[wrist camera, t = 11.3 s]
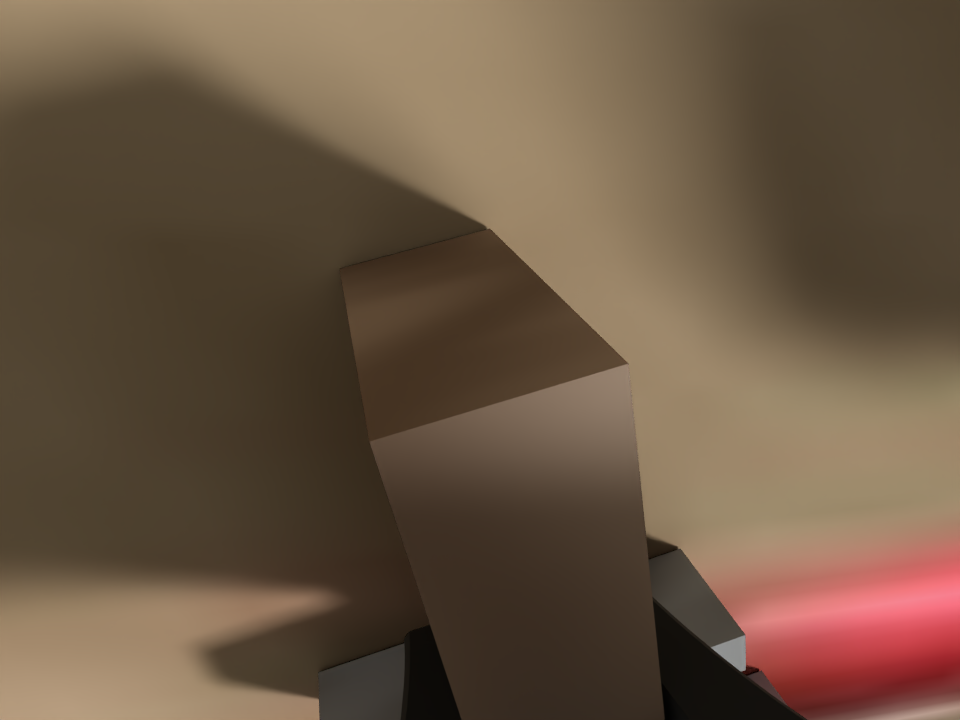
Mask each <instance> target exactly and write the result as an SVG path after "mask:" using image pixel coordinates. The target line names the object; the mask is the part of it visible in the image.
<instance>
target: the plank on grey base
mask: <svg viewBox="0 0 960 720" xmlns="http://www.w3.org/2000/svg"><path fill="white" fill-rule="evenodd" d="M340 275H341V281H342V286H343V292H344V298H345V304H346V310H347V315H348V321H349V327H350V333H351V339H352V344H353V350H354V356H355V362H356V368H357V373H358V379H359V385H360V391H361V397H362V402H363V408H364V414H365V420H366V426H367V431H368V437H369V442H370V445H371V448H372V451H373V454H374V457H375V460H376V463H377V466H378V469H379V473H380V476H381V479H382V482H383V485H384V488H385V491H386V494H387V497H388V500H389V503H390V506H391V509H392V512H393V515H394V518H395V521H396V524H397V527H398V530H399V533H400V536H401V539H402V542H403V545H404V548H405V551H406V554H407V557H408V560H409V563H410V566H411V569H412V572H413V575H414V578H415V581H416V584H417V587H418V590H419V593H420V596H421V599H422V602H423V605H424V608H425V611H426V614H427V617H428V620H429V623H430V626H431V629H432V632H433V635H434V638H435V641H436V644H437V647H438V650H439V653H440V656H441V659H442V662H443V665H444V668H445V671H446V674H447V677H448V680H449V683H450V686H451V689H452V692H453V695H454V698H455V701H456V704H457V707H458V710H459V713H460V716H461V719H462V720H665V717H664V707H663V697H662V687H661V678H660V668H659V658H658V648H657V638H656V629H655V619H654V609H653V599H652V597H654V598H655V599H656V600H657V601H658V602H659V603H660V604H661V605H662V606H663V607H664V608H665V609H667V610H668V611H669V612H670V613H671V614H672V615H673V616H674V617H675V618H677V619H678V620H679V621H680V622H681V623H682V624H683V625H685V626H686V627H687V628H688V629H689V630H690V631H692V632H693V633H694V634H695V635H696V636H698V637H699V638H700V639H701V640H702V641H704V642H705V643H706V644H707V645H708V646H710V647H711V648H712V649H713V650H714V651H716V652H717V653H718V654H719V655H721V656H722V657H723V658H724V659H725V660H727V661H728V662H729V663H731V664H732V665H733V666H734V667H736V668H737V669H738V670H739V671H741V672H742V671H744V670H746V647H745V634H744V632H743V631H742V630H741V628H740V627H739V626H738V624H737V623H736V622H735V620H734V619H733V618H732V616H731V615H730V614H729V612H728V611H727V610H726V609H725V607H724V606H723V605H722V603H721V602H720V601H719V599H718V598H717V597H716V595H715V594H714V593H713V591H712V590H711V589H710V587H709V586H708V585H707V583H706V582H705V581H704V579H703V578H702V577H701V575H700V574H699V573H698V571H697V570H696V569H695V567H694V566H693V565H692V563H691V562H690V561H689V559H688V558H687V557H686V555H685V554H684V553H683V551H682V550H681V549H678V550H675V551H672V552H669V553H667V554H664V555H661V556H658V557H655V558H652V559H649V560H648V550H647V540H646V531H645V521H644V511H643V501H642V491H641V482H640V472H639V462H638V452H637V442H636V433H635V423H634V413H633V403H632V393H631V384H630V374H629V364H628V363H627V362H626V361H625V360H624V359H623V358H622V357H621V356H620V355H619V354H618V353H617V352H616V351H615V350H614V349H613V348H612V347H611V346H610V345H609V344H608V343H607V342H606V341H605V340H604V339H603V338H602V337H601V336H600V335H599V334H597V333H596V332H595V331H594V330H593V329H592V328H591V327H590V326H589V325H588V324H587V323H586V322H585V321H584V320H583V319H582V318H581V317H580V316H579V315H578V314H577V313H576V312H575V311H574V310H573V309H572V308H571V307H570V306H569V305H568V304H567V303H566V302H565V301H564V300H563V299H562V298H561V297H560V296H558V295H557V294H556V293H555V292H554V291H553V290H552V289H551V288H550V287H549V286H548V285H547V284H546V283H545V282H544V281H543V280H542V279H541V278H540V277H539V276H538V275H537V274H536V273H535V272H534V271H533V270H532V269H531V268H530V267H529V266H528V265H527V264H526V263H525V262H524V261H523V260H522V259H520V258H519V257H518V256H517V255H516V254H515V253H514V252H513V251H512V250H511V249H510V248H509V247H508V246H507V245H506V244H505V243H504V242H503V241H502V240H501V239H500V238H499V237H498V236H497V235H496V234H495V233H494V232H493V231H492V230H491V229H487V230H483V231H479V232H476V233H472V234H468V235H464V236H461V237H457V238H453V239H449V240H446V241H442V242H438V243H434V244H431V245H427V246H423V247H419V248H416V249H412V250H408V251H404V252H400V253H397V254H393V255H389V256H385V257H382V258H378V259H374V260H370V261H367V262H363V263H359V264H355V265H352V266H348V267H344V268H340ZM404 670H405V646H404V644H401V645H398V646H395V647H392V648H389V649H386V650H383V651H380V652H377V653H374V654H371V655H368V656H366V657H363V658H360V659H357V660H354V661H351V662H348V663H345V664H342V665H339V666H336V667H333V668H330V669H328V670H325V671H322V672H319V673H318V679H319V715H320V720H401V710H402V700H403V688H404Z"/></svg>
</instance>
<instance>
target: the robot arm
mask: <svg viewBox="0 0 960 720" xmlns="http://www.w3.org/2000/svg"><path fill="white" fill-rule="evenodd" d="M652 599H653V609H654V619H655V629H656V638H657V648H658V658H659V668H660V678H661V687H662V697H663V707H664V717H665V720H807V719H806V718H804V717H803V716H801V715H800V714H798V713H797V712H795V711H794V710H793V709H791V708H790V707H788V706H787V705H785V704H784V703H783V702H781V701H780V700H778V699H777V698H776V697H774V696H773V695H771V694H770V693H769V692H767V691H766V690H765V689H763V688H762V687H761V686H759V685H758V684H757V683H755V682H754V681H753V680H751V679H750V678H749V677H747V676H746V675H745V674H743V673H742V672H741V671H739V670H738V669H737V668H736V667H734V666H733V665H732V664H731V663H729V662H728V661H727V660H725V659H724V658H723V657H722V656H721V655H719V654H718V653H717V652H716V651H714V650H713V649H712V648H711V647H710V646H708V645H707V644H706V643H705V642H704V641H702V640H701V639H700V638H699V637H698V636H696V635H695V634H694V633H693V632H692V631H690V630H689V629H688V628H687V627H686V626H685V625H683V624H682V623H681V622H680V621H679V620H678V619H677V618H675V617H674V616H673V615H672V614H671V613H670V612H669V611H668V610H667V609H665V608H664V607H663V606H662V605H661V604H660V603H659V602H658V601H657V600H656V599H655V598H654V597H652ZM404 646H405V670H404V688H403V700H402V710H401V720H462V719H461V716H460V713H459V710H458V707H457V704H456V701H455V698H454V695H453V692H452V689H451V686H450V683H449V680H448V677H447V674H446V671H445V668H444V665H443V662H442V659H441V656H440V653H439V650H438V647H437V644H436V641H435V638H434V635H433V632H432V629H431V626H430V625H428V626H425V627H422V628H419V629H416V630H413V631H410V632H409V633H408V634H407V635H406V637H405V638H404Z"/></svg>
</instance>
